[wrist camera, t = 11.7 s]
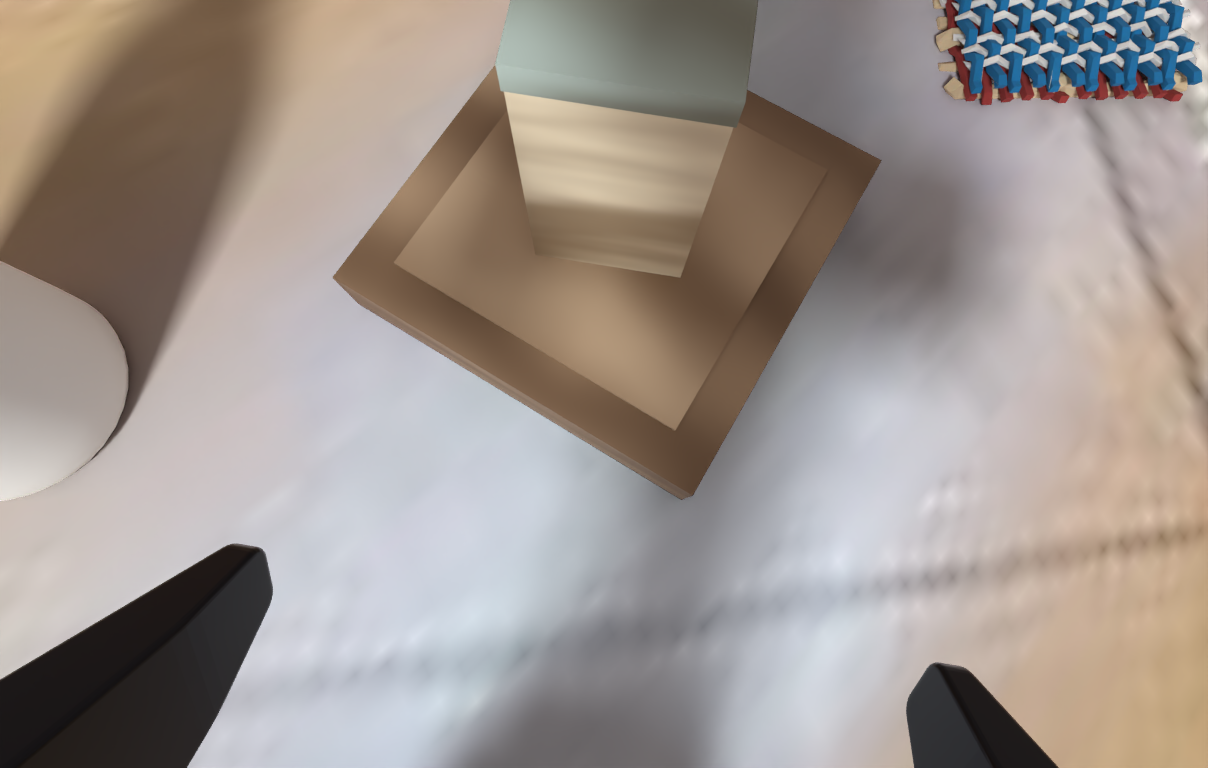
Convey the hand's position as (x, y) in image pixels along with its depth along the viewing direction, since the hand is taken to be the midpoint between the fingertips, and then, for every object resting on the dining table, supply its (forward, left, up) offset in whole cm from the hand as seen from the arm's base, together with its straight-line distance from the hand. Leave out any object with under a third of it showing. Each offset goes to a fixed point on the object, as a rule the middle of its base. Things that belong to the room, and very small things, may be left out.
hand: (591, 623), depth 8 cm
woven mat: (+31, -4, -14) cm, 34 cm away
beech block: (+11, +5, -11) cm, 16 cm away
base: (+11, +5, -14) cm, 18 cm away
